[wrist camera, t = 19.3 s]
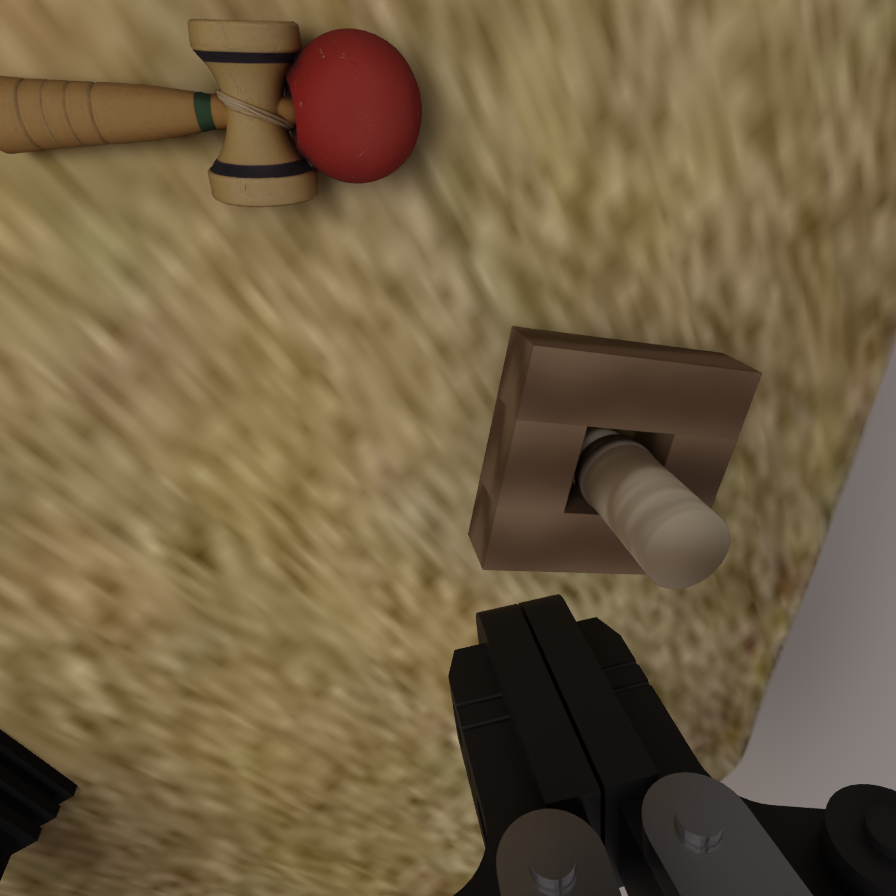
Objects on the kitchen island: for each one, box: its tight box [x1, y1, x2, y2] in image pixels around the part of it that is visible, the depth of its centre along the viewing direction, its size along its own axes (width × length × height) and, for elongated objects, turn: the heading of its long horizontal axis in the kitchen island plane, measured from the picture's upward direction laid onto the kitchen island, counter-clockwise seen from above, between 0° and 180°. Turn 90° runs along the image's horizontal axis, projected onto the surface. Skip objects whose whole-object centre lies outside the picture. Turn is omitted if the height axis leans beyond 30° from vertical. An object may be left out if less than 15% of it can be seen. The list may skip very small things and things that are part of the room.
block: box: [468, 326, 762, 575], centre depth 40 cm, size 14×14×4 cm
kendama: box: [0, 19, 422, 207], centre depth 28 cm, size 8×6×18 cm
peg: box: [574, 426, 730, 589], centre depth 36 cm, size 5×5×12 cm
